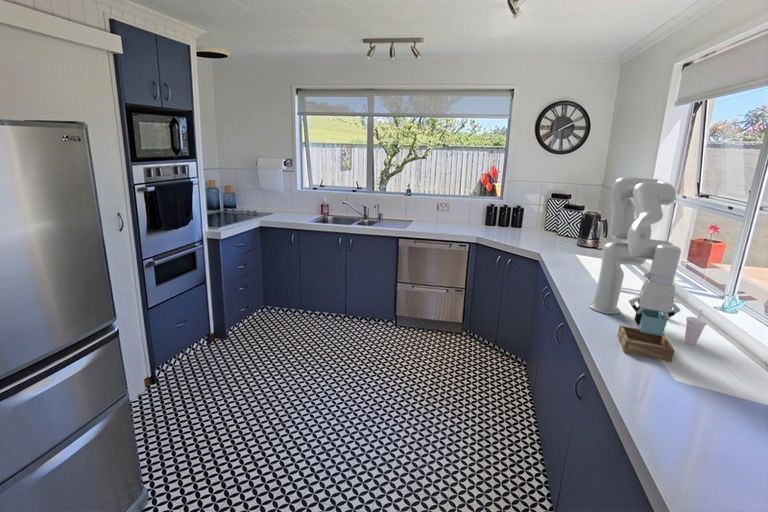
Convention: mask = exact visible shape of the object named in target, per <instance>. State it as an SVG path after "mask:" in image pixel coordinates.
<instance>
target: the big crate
mask: <svg viewBox="0 0 768 512" xmlns="http://www.w3.org/2000/svg"><path fill="white" fill-rule="evenodd" d="M616 337H617V338H619V339H618V341H619V344H620V346H622V347H621V349H622V352H623V353H624V352H625V353H626V354H629V355H634V356H639V357H645V358H649V357H650V358H649V359H653V358H655V359H654V360H658V359H660V360H659V361H663V360H665V362H668V361H670V362H669V363H672V361H673V359H674V355H675V349H674V347H673V345H672V344H671V342H670V341H669V339H668V338H667V336H666V335H665V332H664V333H663V336H660V335H655V334H649V333H644V332H640V330H639V328H638V327H636V328H635V327H630V326H626V325H619V327H618V332H617V335H616ZM625 353H624V354H625Z"/></svg>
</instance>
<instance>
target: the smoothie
mask: <svg viewBox="0 0 768 512" xmlns="http://www.w3.org/2000/svg"><path fill="white" fill-rule="evenodd" d="M702 312H703V310H702V309H700V310H699V313H698V315H697V317H694V316H687V317H686V319H685V321H686V323H685V324H686V325H685V327H686V328H685V333H684V343H686V344H688V345H691V346H696V345H697V343H698V341H699V339H700V337H701V334H702V333H703V330H704V329H705V327H706V326H707V324H708V323H707V321H706V320H704V319H702V318H701V315H702Z"/></svg>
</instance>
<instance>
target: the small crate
mask: <svg viewBox="0 0 768 512" xmlns="http://www.w3.org/2000/svg"><path fill="white" fill-rule="evenodd" d="M666 322H668V319H667V320H666V318H665V317H664V316H663V312H662V313H661V312H659V311H653V310H647V309H644V310H643V311H642V312H641V319H640V323H639V325H638V324H637V323H636V321H635V320H634V323H635V325H636V328H637V329H639V330H640V332H644V333H649V334H655V335H660V336H663V333H664V334H665V329H666V326H667V323H666Z"/></svg>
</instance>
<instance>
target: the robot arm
mask: <svg viewBox="0 0 768 512" xmlns="http://www.w3.org/2000/svg"><path fill="white" fill-rule="evenodd" d="M611 187H612V188H611V201H612V211H611V216H610V223H609V236H610V237H611V238H612V239H616V240H623V241H624V240H626V241H627V242H622V241H621V242H620V241H612V242H611V241H610V242H607V243H605V244H604V245H603V246H602V250H601V265H600V270H599V276H598V281H597V285H596V290H595V293H594V294H595V295H594V299H593V301H591V302H590V303H589V305H588V307H589V308H590V309H592V310H593V311H595V312H597V313H603V314H606V315H618V314H620V312H621V309H620V308H619V307H618V303H619V298H620V295H621V290H622V285H623V281H624V276H625V274H624V270H623V269H622V267H621V265H624V266H625V265H629V266H642V265H644V264H645V263H646V261H647V260H649V261H651V266H650V268H649V269H650V270H649V271H648V273H644V274H643V278H645V281H644V282H643V284H642V287H641V289H640V293H639V295H638V296H635V297H633V298H631V299H629V300H628V303H629V304H630V306H631V307H632V309H633V310H634V311H635V315H634V322H635V321H636V323H637V324H638V325H639V323H640V319H641V312H642V311H643V310H644V309H647V310H653V311H659V312H662V314H663V316H664V317H665V318H666V320H667V322H668V320H669V319H670V318H672V317H673V316H675V314H678V313H680V312H681V309H680V308H679V306H678V305H677V304H676V303H674V302H675V295H676V286H675V284H674V280H675V276H676V273H677V268H678V266H679V261H680V257H681V254H682V250H681V248H680V247H679V246H676V245H674V244H673V243H672V242H670V241H668V240H662V239H661V240H660V239H652V238H651V236H652V226H651V225H654V224H657V223H658V222H660V221H661V220H662V219H663V217H664V213H663V210H662V208H663V207H662V206H669V205H671V204H673V202H674V201H675V200H676V196H677V194H676V193H677V192H676V189H675V187H674V186H673V184H672V183H669V182H666V181H664V180H661V179H657V178H647V177H646V178H645V177H638V176H637V177H635V176H634V177H633V176H623V177H622V176H621V177H619V178H617V179H615V181H614V182H613V184H612V186H611ZM631 198H632V199H633V200H632V199H631ZM635 215H636V216H635ZM635 217H636V218H635ZM635 303H637V304H638V306H637V305H636V304H635ZM667 322H666V324H667ZM636 323H635V324H636Z"/></svg>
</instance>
